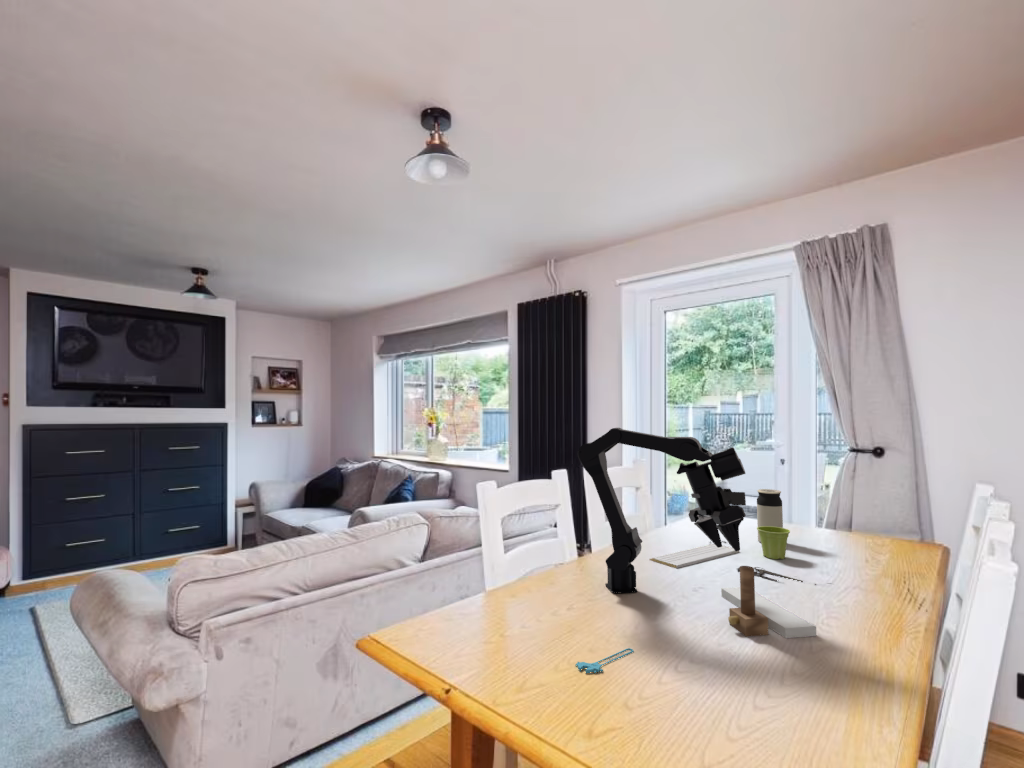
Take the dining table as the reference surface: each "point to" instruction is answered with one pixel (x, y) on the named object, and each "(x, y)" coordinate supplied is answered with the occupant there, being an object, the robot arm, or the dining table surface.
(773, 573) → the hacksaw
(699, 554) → the baseboard
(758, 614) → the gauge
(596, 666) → the blue flat looped piece
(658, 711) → the dining table surface
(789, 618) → the board
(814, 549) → the dining table surface
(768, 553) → the plant pot
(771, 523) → the travel mug
